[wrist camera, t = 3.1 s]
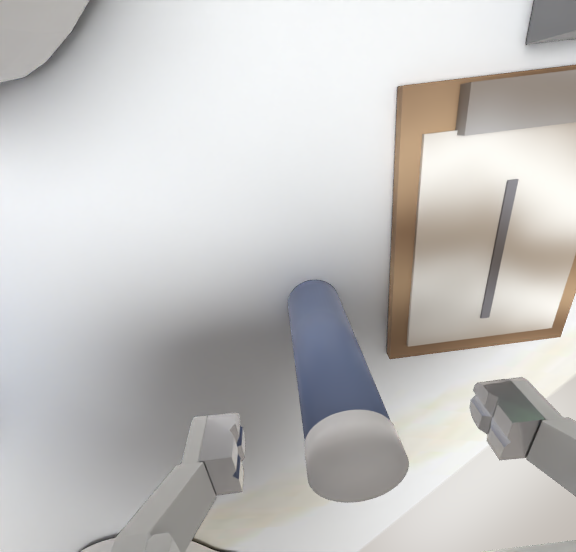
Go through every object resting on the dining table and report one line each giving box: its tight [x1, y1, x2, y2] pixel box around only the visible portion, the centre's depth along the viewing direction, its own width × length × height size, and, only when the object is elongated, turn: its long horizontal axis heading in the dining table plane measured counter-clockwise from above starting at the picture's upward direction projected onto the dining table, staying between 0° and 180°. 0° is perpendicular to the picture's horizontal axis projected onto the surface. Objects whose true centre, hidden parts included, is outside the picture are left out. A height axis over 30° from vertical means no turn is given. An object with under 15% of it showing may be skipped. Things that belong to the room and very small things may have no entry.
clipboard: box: [387, 65, 576, 359], centre depth 17 cm, size 15×11×1 cm
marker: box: [288, 280, 409, 502], centre depth 14 cm, size 3×3×10 cm
